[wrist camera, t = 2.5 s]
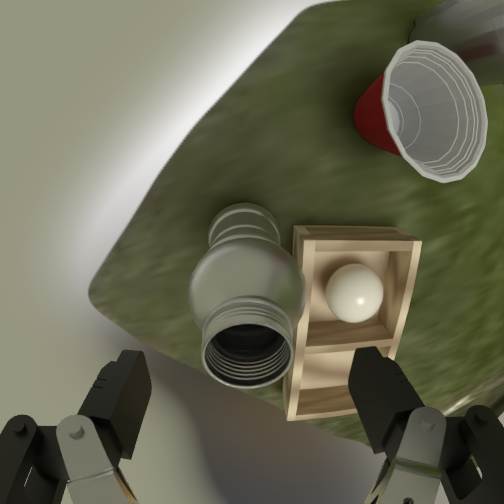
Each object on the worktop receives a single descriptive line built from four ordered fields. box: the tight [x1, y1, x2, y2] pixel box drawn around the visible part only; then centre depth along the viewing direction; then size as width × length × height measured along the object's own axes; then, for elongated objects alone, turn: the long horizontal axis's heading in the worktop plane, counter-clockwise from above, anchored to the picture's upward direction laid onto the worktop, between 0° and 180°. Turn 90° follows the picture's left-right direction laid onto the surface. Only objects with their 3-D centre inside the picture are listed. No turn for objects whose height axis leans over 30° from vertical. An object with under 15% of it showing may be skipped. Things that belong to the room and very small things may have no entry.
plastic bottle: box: [187, 203, 307, 389], centre depth 21 cm, size 6×7×20 cm
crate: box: [282, 225, 422, 421], centre depth 31 cm, size 23×12×6 cm, turn 0°
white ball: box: [325, 263, 383, 323], centre depth 28 cm, size 6×6×6 cm
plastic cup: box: [353, 40, 488, 183], centre depth 21 cm, size 11×11×12 cm
